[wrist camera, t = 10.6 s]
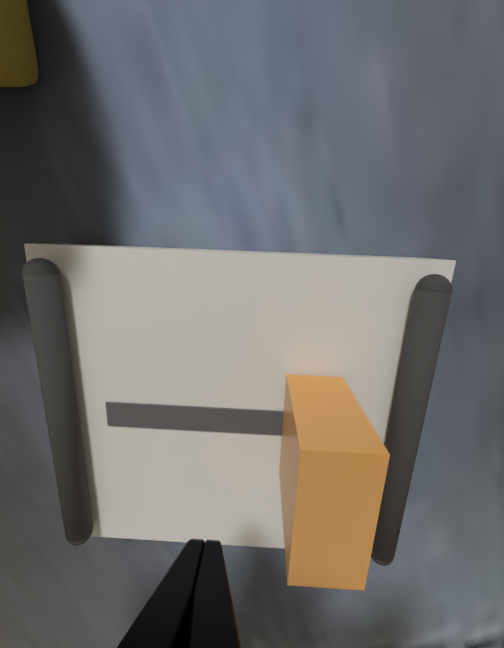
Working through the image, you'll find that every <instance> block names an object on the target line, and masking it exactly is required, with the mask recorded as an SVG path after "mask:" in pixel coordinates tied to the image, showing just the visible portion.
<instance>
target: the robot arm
mask: <svg viewBox="0 0 504 648" xmlns="http://www.w3.org/2000/svg"><path fill="white" fill-rule="evenodd" d="M117 648H241V646H240V641H239V635H238V630H237V625H236V620H235V614H234V609H233V604H232V598H231V593H230V588H229V583H228V577H227V572H226V567H225V561H224V556H223V551H222V546H221V542H220V541H219V540H206V541H204V540H203V539H190V540H189V541H188V542H187V543H186V545H185V546H184V548H183V549H182V551H181V552H180V554H179V555H178V557H177V558H176V560H175V561H174V563H173V564H172V566H171V567H170V569H169V570H168V572H167V573H166V575H165V576H164V578H163V579H162V581H161V582H160V584H159V585H158V587H157V588H156V590H155V591H154V593H153V594H152V596H151V597H150V599H149V600H148V602H147V603H146V605H145V606H144V608H143V609H142V611H141V612H140V614H139V615H138V617H137V618H136V620H135V621H134V623H133V624H132V626H131V627H130V629H129V630H128V632H127V633H126V635H125V636H124V638H123V639H122V641H121V642H120V644H119V645H118V647H117Z"/></svg>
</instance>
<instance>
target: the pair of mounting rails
mask: <svg viewBox="0 0 504 648" xmlns="http://www.w3.org/2000/svg"><path fill="white" fill-rule="evenodd" d="M22 276H23V282H24V288H25V295H26V301H27V307H28V313H29V319H30V325H31V331H32V337H33V343H34V349H35V355H36V361H37V367H38V373H39V379H40V385H41V391H42V397H43V403H44V409H45V415H46V421H47V427H48V433H49V439H50V445H51V451H52V457H53V463H54V469H55V475H56V481H57V487H58V493H59V499H60V505H61V511H62V517H63V523H64V529H65V535H66V539H67V541H68V543H69V544H71V545H81V544H83V543H84V542H86V541H87V540H88V539H89V538H90V536H91V534H92V532H93V519H92V511H91V504H90V496H89V489H88V481H87V474H86V466H85V458H84V451H83V443H82V436H81V428H80V421H79V413H78V406H77V398H76V391H75V383H74V376H73V368H72V361H71V353H70V346H69V338H68V330H67V323H66V315H65V308H64V300H63V293H62V285H61V278H60V272H59V269H58V267H57V266H56V265H55V264H54V263H53V262H51V261H50V260H47V259H44V258H34V259H31V260H29V261H28V262H26V263H25V265H24V266H23V269H22ZM451 293H452V285H451V283H450V281H449V280H448V279H447V278H446V277H444V276H442V275H439V274H430V275H427V276H424V277H423V278H421V279H420V280H419V281H418V282H417V284H416V286H415V290H414V296H413V301H412V306H411V312H410V317H409V323H408V328H407V334H406V339H405V345H404V350H403V355H402V361H401V366H400V372H399V377H398V383H397V388H396V394H395V399H394V404H393V410H392V415H391V421H390V426H389V432H388V437H387V443H386V449H387V451H388V452H389V454H390V458H389V463H388V468H387V474H386V479H385V484H384V490H383V495H382V500H381V505H380V511H379V516H378V521H377V526H376V532H375V537H374V542H373V547H372V553H371V558H372V559H373V560H374V561H375V562H376V563H377V564H379V565H383V566H386V565H389V564H390V563H391V562H392V561H393V559H394V555H395V551H396V546H397V542H398V537H399V532H400V528H401V523H402V519H403V514H404V509H405V505H406V500H407V496H408V491H409V487H410V482H411V477H412V473H413V468H414V464H415V459H416V454H417V450H418V445H419V441H420V436H421V431H422V427H423V422H424V418H425V413H426V408H427V404H428V399H429V395H430V390H431V385H432V381H433V376H434V372H435V367H436V362H437V358H438V353H439V349H440V344H441V339H442V335H443V330H444V326H445V321H446V316H447V312H448V307H449V303H450V298H451Z"/></svg>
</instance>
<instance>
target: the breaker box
mask: <svg viewBox="0 0 504 648" xmlns="http://www.w3.org/2000/svg"><path fill="white" fill-rule="evenodd" d="M24 247H25V254H26V260H27V262H28V261H29V260H31V259H34V258H44V259H47V260H50V261H51V262H53V263H54V264H55V265H56V266H57V267H58V269H59V272H60V278H61V285H62V293H63V300H64V308H65V315H66V323H67V330H68V338H69V346H70V353H71V361H72V368H73V376H74V383H75V391H76V398H77V406H78V413H79V421H80V428H81V436H82V443H83V451H84V458H85V466H86V474H87V481H88V489H89V496H90V504H91V511H92V519H93V532H92V534H91V536H96V537H111V538H127V539H142V540H158V541H174V542H188V541H189V540H190V539H203V540H204V541H206V540H219V541H220V542H221V545H236V546H252V547H267V548H283V549H285V545H284V531H283V518H282V504H281V490H280V476H279V466H280V453H281V439H282V426H283V412H284V399H285V386H286V374H293V375H314V376H334V377H343V378H344V380H345V382H346V383H347V385H348V386H349V388H350V390H351V391H352V393H353V395H354V396H355V398H356V400H357V401H358V403H359V405H360V406H361V408H362V409H363V411H364V413H365V414H366V416H367V418H368V419H369V421H370V423H371V424H372V426H373V428H374V429H375V431H376V433H377V434H378V436H379V437H380V439H381V441H382V442H383V444H384V446H385V447H386V443H387V437H388V432H389V426H390V421H391V415H392V410H393V404H394V399H395V394H396V388H397V383H398V377H399V372H400V366H401V361H402V355H403V350H404V345H405V339H406V334H407V328H408V323H409V317H410V312H411V306H412V301H413V296H414V290H415V286H416V284H417V282H418V281H419V280H420V279H421V278H423V277H424V276H427V275H430V274H439V275H442V276H444V277H446V278H447V279H448V280H449V281H450V283H451V282H452V277H453V272H454V268H455V263H456V261H455V260H442V259H429V258H417V257H391V256H366V255H341V254H315V253H290V252H264V251H239V250H214V249H188V248H163V247H138V246H112V245H87V244H25V243H24Z"/></svg>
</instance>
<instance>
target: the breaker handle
mask: <svg viewBox="0 0 504 648" xmlns="http://www.w3.org/2000/svg"><path fill="white" fill-rule="evenodd" d="M389 458H390V454H389V452H388V451H387V449H386V447H385V446H384V444H383V442H382V441H381V439H380V437H379V436H378V434H377V433H376V431H375V429H374V428H373V426H372V424H371V423H370V421H369V419H368V418H367V416H366V414H365V413H364V411H363V409H362V408H361V406H360V405H359V403H358V401H357V400H356V398H355V396H354V395H353V393H352V391H351V390H350V388H349V386H348V385H347V383H346V382H345V380H344V378H343V377H334V376H314V375H293V374H286V386H285V399H284V412H283V426H282V439H281V453H280V466H279V476H280V490H281V504H282V518H283V531H284V545H285V559H286V573H287V585H291V586H305V587H320V588H335V589H350V590H365V584H366V579H367V574H368V569H369V563H370V558H371V553H372V547H373V542H374V537H375V532H376V526H377V521H378V516H379V511H380V505H381V500H382V495H383V490H384V484H385V479H386V474H387V468H388V463H389Z"/></svg>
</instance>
